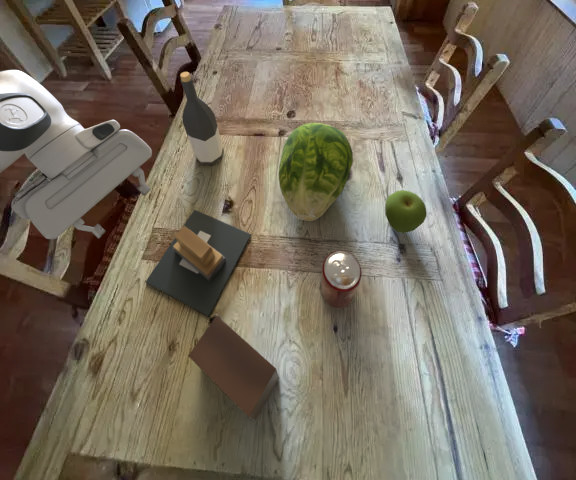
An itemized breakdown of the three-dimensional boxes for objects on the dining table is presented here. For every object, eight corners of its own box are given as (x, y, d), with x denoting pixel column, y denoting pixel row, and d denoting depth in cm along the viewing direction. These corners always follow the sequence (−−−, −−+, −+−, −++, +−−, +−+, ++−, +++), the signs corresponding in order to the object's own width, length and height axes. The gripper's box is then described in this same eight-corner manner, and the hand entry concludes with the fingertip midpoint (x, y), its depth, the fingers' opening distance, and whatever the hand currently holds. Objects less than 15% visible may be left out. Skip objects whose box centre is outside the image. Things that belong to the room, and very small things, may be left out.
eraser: (209, 281, 72) (202, 268, 67) (174, 251, 77) (164, 236, 71) (226, 260, 75) (220, 245, 70) (191, 232, 80) (183, 217, 74)
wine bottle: (229, 148, 98) (210, 68, 77) (213, 170, 93) (188, 90, 72) (206, 139, 101) (181, 59, 80) (189, 160, 96) (158, 80, 75)
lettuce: (254, 210, 76) (325, 201, 66) (269, 120, 89) (330, 101, 79) (301, 231, 87) (368, 226, 77) (308, 148, 100) (366, 135, 90)
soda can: (316, 302, 70) (318, 283, 61) (324, 266, 75) (327, 244, 66) (351, 314, 68) (358, 296, 60) (357, 277, 73) (364, 255, 65)
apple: (422, 220, 81) (435, 195, 73) (410, 250, 77) (422, 227, 68) (388, 201, 85) (397, 176, 77) (374, 229, 80) (382, 205, 72)
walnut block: (256, 420, 57) (248, 417, 50) (201, 366, 63) (187, 355, 55) (279, 378, 61) (276, 368, 54) (226, 330, 67) (216, 315, 59)
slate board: (209, 317, 68) (208, 316, 68) (146, 283, 73) (145, 281, 73) (251, 235, 80) (251, 234, 79) (194, 210, 85) (194, 208, 84)
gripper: (1, 202, 49) (71, 267, 51) (122, 113, 60) (174, 170, 63) (5, 201, 54) (69, 261, 56) (116, 120, 65) (165, 172, 68)
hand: (125, 212), depth 60 cm, fingers open, 8 cm apart
